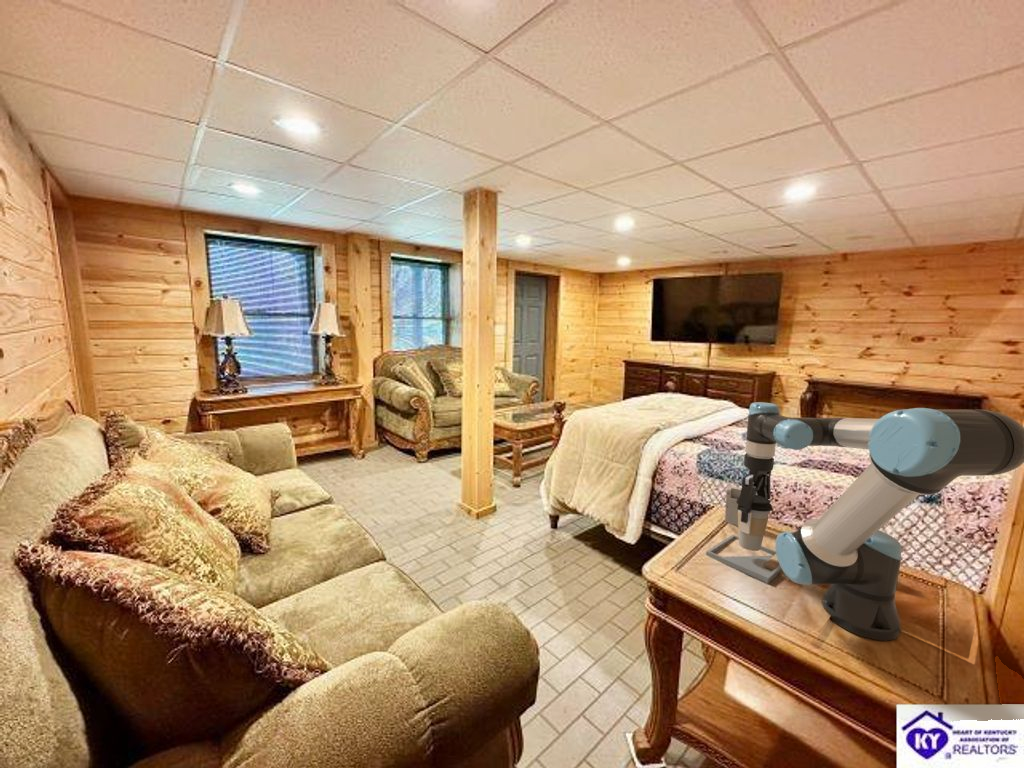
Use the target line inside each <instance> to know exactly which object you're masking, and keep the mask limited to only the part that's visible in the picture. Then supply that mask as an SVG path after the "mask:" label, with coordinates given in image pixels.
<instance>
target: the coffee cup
mask: <svg viewBox="0 0 1024 768" xmlns="http://www.w3.org/2000/svg"><path fill="white" fill-rule="evenodd" d="M739 498H740V497H739ZM739 498H737V501H736V503H737V504H738V503H739ZM769 500H770V499H767V498H764V497H762V496H758V495H757V494H756V495H755V498H754V501H753V505H752V508H751V511H750V512H752V517H751V526H750V534H747V533H744V532H741V531H739V526H740V516H741V511H740V510H738V526H737V530H738V537H739V540H738V545H739V547H741V548H743V549H745V550H749V551H753V552H758V551H761V550H760V548H761V546H762V543H763V540H764V536H765V534H766V530H767V526H768V522H769V514H770V511H772V510H773V504H772V503H771V502H770V501H769Z"/></svg>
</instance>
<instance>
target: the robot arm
mask: <svg viewBox="0 0 1024 768" xmlns="http://www.w3.org/2000/svg"><path fill="white" fill-rule="evenodd" d="M780 413H781V412H780V406H779V405H778V404H776V403H771V402H763V401H758V402H757V401H756V402H755V401H754V402H752V403H750V405H749V409H748V414H747V427H746V440H745V441H744V444H745V450H744V451H745V454H744V459H743V466H744V467H745V468H747V469H748V473H747V475H746V476H745V475H744V476H742V485H741V488H742V489H741V494H740V498H739V503H738V507H737V509H738V510H740V511H741V516H740V526H739V529H738V532H739V531H741V532H744V533H747V534H750V526H751V517H752V512H750V511H751V508H752V505H753V501H754V498H755V495H758V496H762V497H764V498H767V499H768V500H769V501H770V503H771V501H772V500H771V477H772V471H773V470H774V465H775V464H774V463H775V458H774V457H775V456H776V448H777V447H776V445H777V444H778V445H780V446H782V447H784V448H786V449H790V450H795V451H800V450H801V451H802V450H803V449H806V448H807V447H817V446H818V447H820V446H821V447H838V448H849V449H851V448H852V449H861V450H869V454H868V458H869V460H870V464H869V465H868V466H867V467H866V468H865V469H864V470H863V471H862V472H861V473H860V475H858V477H857V478H856V479H855V480H854V481H853V482H852V483H851V484H850V485H849V486H848V487H847V488H846V489H845V491H843V493H842V494H841V495H840V496H839V497H838V498H837V499H836V500H835V501H834V502H833V503H832V504H831V506H829V507H828V509H827V510H825V512H824V513H823V514H822V515H821V516H820V517H819V518H818V519H817V518H814V519H808V520H806V521H805V522H804V523H803V524H801V526H800V527H799V528H798V529H797V530H795V531H789V530H788V531H785V532H781V533H779V534H778V535H777V536H776V539H775V551H776V554H775V555H776V558H777V561H778V563H779V564H778V565H780V566H781V568H782V570H781V571H782V573H784V575H785V576H786V577H787V578H788V579H789V580H791V581H792V582H793V583H796V584H797V585H798V584H800V585H808V586H810V585H829V587H828V589H826V592H825V593H824V594H823V596H822V601H821V604H822V608H823V610H825V612H826V613H827V614H828V615H829V618H828V619H829V620H831V622H833V623H834V624H836V625H838V626H839V627H841V628H842V629H845V630H846V631H848V632H851V633H853V634H855V635H858V636H861V637H863V638H867V639H872V640H876V641H877V640H878V641H892V640H896V639H897V638H899V636H900V633H901V632H900V631H901V621H900V617H899V616H900V615H899V613H898V610H897V605H896V601H895V597H896V591H897V584H898V580H899V579H898V578H899V575H900V569H901V563H902V560H903V558H902V549H903V547H902V545H901V543H900V542H899V541H898V540H897V539H896V537H893V536H892V535H890V534H889V533H886V532H884V531H881V528H883V527H884V526H885V525H886V524H888V523H889V522H890V521H891V520H892V519H893V518H894V517H895V516H896V515H898V514H899V513H901V511H902V510H903V509H905V508H906V507H907V506H908V505H909V504H911V503H912V502H913V501H914V500H915V499H916V498H917V497H919V496H920V495H922V496H932V495H936V494H938V493H939V492H941V491H943V489H945V488H946V487H947V486H948V485H949V484H950V483H952V482H953V481H954V480H955V479H957V478H960V477H962V476H963V477H964V476H971V477H973V476H974V477H975V476H977V477H978V476H996V475H1002V474H1006V473H1009V472H1011V471H1014V470H1016V469H1017V468H1019V467H1021V466H1022V465H1023V464H1024V426H1023V425H1022V424H1020V422H1018V421H1017V420H1016V419H1014V418H1012V417H1010V416H1008V415H1006V414H1004V413H1001V412H998V411H994V410H988V409H933V408H926V407H915V408H914V407H913V408H908V409H897V410H894V411H891V412H889V413H886V414H884V415H883V416H880V418H865V417H864V418H862V417H861V418H860V417H859V418H856V417H854V418H853V417H790V416H789V417H788V416H786V415H785V416H784V415H781V414H780ZM756 492H757V494H756Z"/></svg>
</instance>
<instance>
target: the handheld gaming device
mask: <svg viewBox="0 0 1024 768" xmlns="http://www.w3.org/2000/svg"><path fill="white" fill-rule="evenodd" d="M741 489H742V487H738V486H733V485H727V487H726V491H725V492H726V493H725V495H726V496H725V511H724V512H725V514H724V523H728V524H729V525H732V526H736V527H738V509H737V507H738V504H737V503H736V501H737V498H739V497H740V494H741ZM756 495H757V492H756Z"/></svg>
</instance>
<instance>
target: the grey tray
mask: <svg viewBox="0 0 1024 768" xmlns="http://www.w3.org/2000/svg"><path fill="white" fill-rule="evenodd" d="M734 539H735V540H736V541H737V540H738V541H739V535H735V534H732V535H730V536H728V537H727V538H726V539H724V540H722V541H721V542H719V543H717V544H715V545H714V546H713V547H711V548H709V549H707V551H706V552H705V555H706V556H708V557H709V558H712V560H713V559H714V560H715V561H718V562H720V563H721V564H724V565H725V566H727V567H730V568H731V569H733V570H736V571H738V572H740V573H742V574H744V575H746V576H748V577H750V578H753V579H755V580H758V581H759V582H762V583H764V584H766V585H769V584H771V582H772V581H773V580H775V579H776V577H778V576H780V575H781V573H780V572H781V571H783V570H782V568H781V566H780V564H778V566H777V567H776V568H774V569H771V568H769V567H767V566H765V565H766V564H767V563H768V561H770V560H772V558H773V557H774V556H775V555H776V550H775V549H772V548H769V547H766V546H763V545H761V548H760V550H759V551H763V552H765V553H767V554H770V555H750V556H749V555H747V556H746V555H745V556H742V555H741V556H721V555H719V554H717V553H716V552H717V551H719V550H720V549H721V548H722V547H724V546H725V545H727V544H728V543H729V542H731V541H732V540H734Z"/></svg>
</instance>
